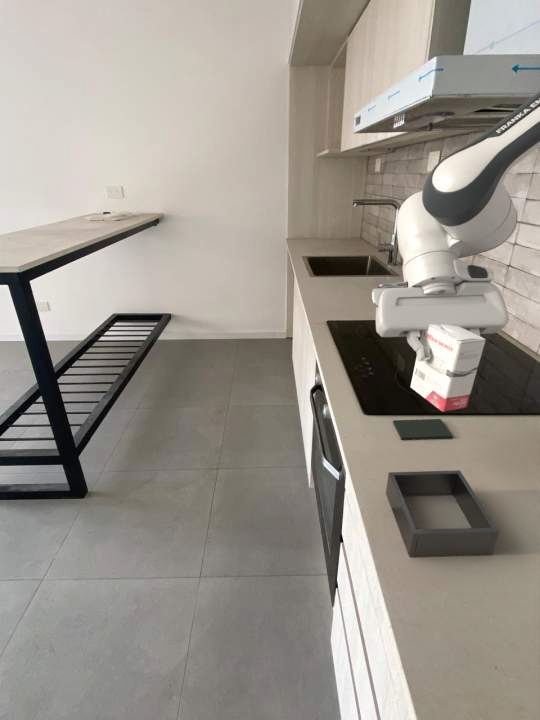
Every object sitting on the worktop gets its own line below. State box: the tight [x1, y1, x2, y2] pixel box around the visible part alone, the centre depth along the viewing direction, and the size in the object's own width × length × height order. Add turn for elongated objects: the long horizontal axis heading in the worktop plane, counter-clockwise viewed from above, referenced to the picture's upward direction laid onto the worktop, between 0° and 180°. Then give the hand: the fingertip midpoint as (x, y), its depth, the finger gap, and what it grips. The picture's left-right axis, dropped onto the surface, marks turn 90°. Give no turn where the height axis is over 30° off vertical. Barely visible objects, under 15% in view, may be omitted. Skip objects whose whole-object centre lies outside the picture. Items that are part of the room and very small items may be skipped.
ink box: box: [410, 324, 487, 413], centre depth 62 cm, size 9×5×12 cm, turn 17°
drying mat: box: [392, 418, 454, 441], centre depth 80 cm, size 10×6×1 cm, turn 90°
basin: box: [385, 469, 500, 558], centre depth 58 cm, size 11×12×4 cm
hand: (447, 359), depth 61 cm, fingers closed on ink box, 6 cm apart
